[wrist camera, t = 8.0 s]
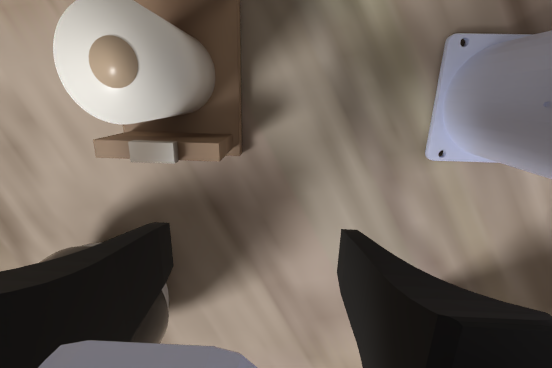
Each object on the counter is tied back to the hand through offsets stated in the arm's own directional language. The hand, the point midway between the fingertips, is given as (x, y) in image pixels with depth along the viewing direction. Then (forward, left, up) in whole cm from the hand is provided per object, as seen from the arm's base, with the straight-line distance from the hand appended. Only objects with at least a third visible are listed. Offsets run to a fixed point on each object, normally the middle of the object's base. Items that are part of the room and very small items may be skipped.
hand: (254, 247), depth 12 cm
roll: (+6, -7, -9) cm, 13 cm away
